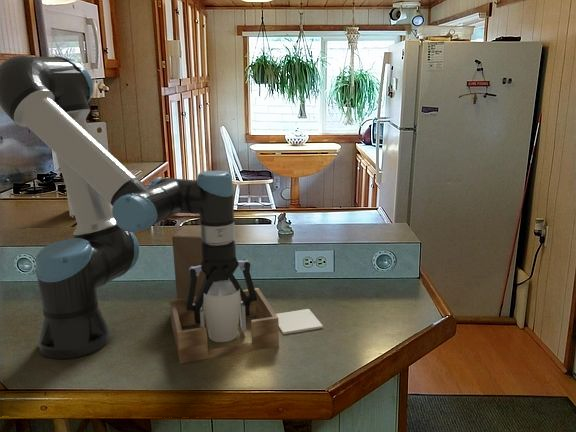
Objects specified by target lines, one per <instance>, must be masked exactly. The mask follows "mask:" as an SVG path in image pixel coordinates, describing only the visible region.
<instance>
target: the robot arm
mask: <svg viewBox="0 0 576 432" xmlns="http://www.w3.org/2000/svg"><path fill="white" fill-rule="evenodd" d="M93 94H94V84H93V80H92V77H91V75H90V73H89V71H88V70H87V69H86V68H85V67H84V66H83V65H82V64H81V63H80V62H78V61H76V59H75V60H74V59H72V58H69V57H62V56H58V55H55V56H31V55H17V56H16V55H15V56H12V57H10V58H8V59H6V60H4V61H3V62H2V63H0V108H1V109H2V110H3V112H4V114H6V115H7V116H8V117H9V118H10V119H11V120H12V121H13V122H15V124H17V125H18V126H19V127H24V128H28V129H29V130H30V131H31V132H32V133H33V134H35V135H36V136H37V137H38V138H39V139H40V141H42V142H43V143H44V144H46V146H47V147H49V149H51V150H52V151H53V152H54V153H55V155H56V158H57V162H58V165H59V168H60V172H61V174H62V178H63V182H64V185H65V189H66V188H67V190H66V193H67V192H68V195H69V198H70V202H71V205H72V208H73V211H74V215H75V217H74V218H75V221H76V223H77V225H76V227H75V230H74V232H73V233H72V234H73V238H72V237H71V238H65V239H63V240H58V241H54V242H52V243H50V244H47V245H46V246H44V247H43V248H41V250H39V251H38V253H37V254H36V256H35V257H36V258H35V266H36V268H35V274H36V279H37V284H38V289H39V296H40V303H41V307H42V317H43V318H42V322H41V326H40V332H39V336H38V348H39V352H40V354H41V355H43V356H45V357H46V358H49V359H56V360H65V359H67V360H68V359H74V358H80V357H83V356H87V355H89V354H93V353H94V352H96V351H98V350H100V349H102V348H103V347H104V346H106V344H108V342H109V341H110V338H111V336H110V334H111V333H110V327H109V325H108V323H107V320H106V319H105V317H104V315H103V312H102V311H101V309H100V307H99V301H98V300H99V299H98V292H97V290H98V289H99V288H101V287H102V286H105V285H106V284H108V283H110V282H112V281H114V280H115V279H117V278H120V277H122V276H123V275H125V274H126V273H127V272H129V271H130V270H132V268H134V267H135V265H136V264H137V262H138V259H139V255H140V245H139V241H138V238H137V237H136V235H135V234H134V233H136V232H140V231H143V230H147V229H150V228H151V227H152V226H153V225H154V226H155V225H156V224H157V223H160V222H162V221H164V220H166V219H169V218H171V217H173V216H175V215H178V214H194V215H195V214H196V215H197V214H198V215H199V222H200V225H199V226H201V240H202V241H203V242H202V263H201V265H199V266H195V267H194V266H189V272H190V279H189V285H188V291H187V297H186V303H185V305H186V308H187V310H193V311H194V319H195V323H196V324H195V325H199V328H202V327H205V323H204V312H203V309H202V305H203V301H204V293H205V294H207V293H208V291H209V289H210V287H211V286H212V284H213V282H216V281H220V280H224V281H228V280H230V281H229V282H232V284H233V285H234V287H235V289H236V290H237V291H238V290H239V289H240V296H241V298H242V300H243V301H241V306H240V318H239V322H240V323H239V324H240V328H241V331H242V332H243V333H244V332H247V324H246V323H247V322H246V318H247V316H249V315H250V311H249V305H250V302H252V301H256V300H257V296H256V293H255V289H254V288H255V285H254V283H253V280H252V276H251V272H250V270H251V263H250V261H249V260H248V259H247V258H245V259H243V260H238V259H237V251H236V240H235V239H236V231H235V210H234V208H235V207H234V206H235V205H234V194H235V191H234V187H233V177H232V174H231V173H229V172H228V171H225V170H206V171H201V172H200V173H198V175H197V179H183V178H172V177H163V178H160V177H159V178H155V179H152V180H151V181H150V182H151V183H150V184H148V186H147V185H146V184H145V183H143V182H142V181H141V180H140V179H139V178H137V176H135V175H134V174H133V173H132V172H131V171H130V170H129V169H128V168H127V167H126V166H125V165H123V163H122V162H120V161H119V160H118V159H117V158H116V157H115V156H114V155H113V154H112V153H111V152H110V151H109V152H108V151H107V150H106V149H105V148H104V147H103V146H102V145H101V144H100V143H99V142H98V141H96V140H95V139H94V138H93V137H92V136H91V135H90V133H89V129H88V126H87V123H88V122H87V117H88V115H89V114H90V112H91V108H90V106H89V103H90V101H91V100H92V95H93ZM110 204H111V205H112V206H113V208H111V205H110ZM238 267H239V268H240V270H241V271H242V274H243V278H244V281H245V285H246V287H247V288H246V289H248V291H249V295H248V296H246V295H245V293H244V291H243V290H244V289H243V288H242V286H241V285H240V284H239V281H238V279H236V276H235V275H234V273H235V272H236V270H237V268H238ZM200 271H203V272H204V273H205V274H206V276H205V279H204V282H203V284H202V287H201V289H200V291H199V293H198V296H197V298H196V300H195V302H194V303H193V299H194V294H195V288H196V282H197V276H199V273H200ZM249 317H250V316H249Z"/></svg>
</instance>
